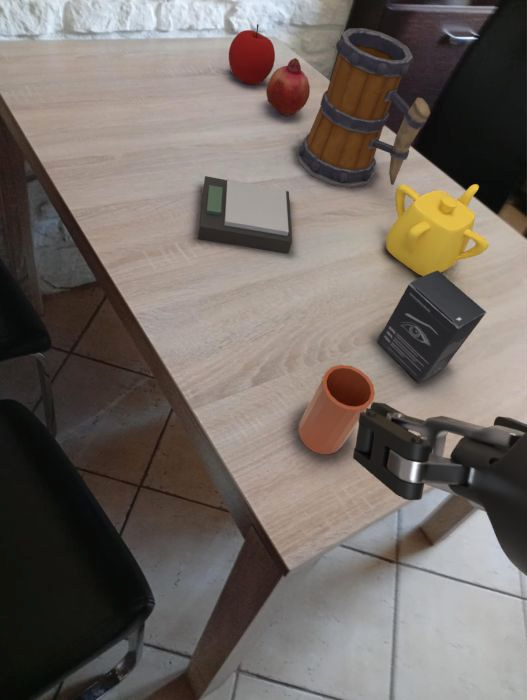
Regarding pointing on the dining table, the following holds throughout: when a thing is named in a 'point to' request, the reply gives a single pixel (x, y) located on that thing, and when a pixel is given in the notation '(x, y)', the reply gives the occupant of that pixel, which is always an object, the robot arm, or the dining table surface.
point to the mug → (361, 111)
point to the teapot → (433, 230)
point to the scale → (245, 215)
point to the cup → (335, 408)
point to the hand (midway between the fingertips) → (436, 425)
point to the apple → (251, 57)
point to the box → (429, 325)
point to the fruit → (288, 88)
